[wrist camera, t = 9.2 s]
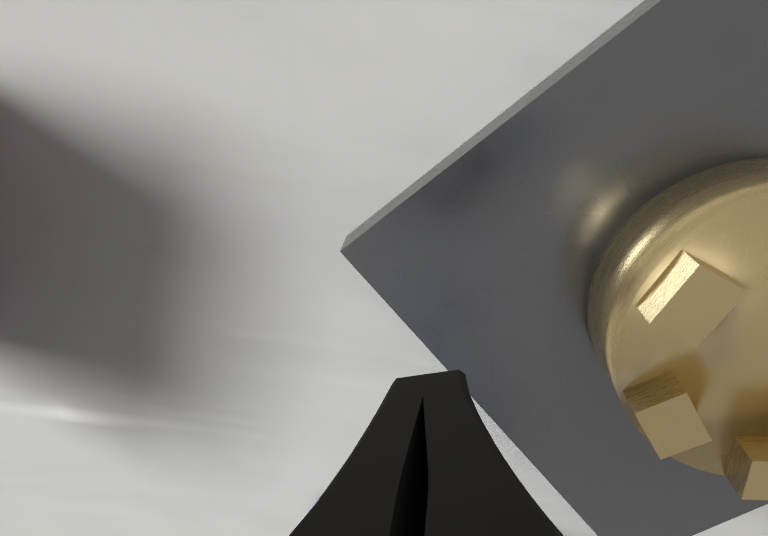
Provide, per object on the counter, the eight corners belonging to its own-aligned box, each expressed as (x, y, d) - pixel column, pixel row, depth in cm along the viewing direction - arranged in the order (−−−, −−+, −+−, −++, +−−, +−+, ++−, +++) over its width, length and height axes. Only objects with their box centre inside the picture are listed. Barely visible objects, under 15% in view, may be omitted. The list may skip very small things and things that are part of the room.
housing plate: (1093, 318, 18) (1156, 345, 16) (613, 533, 24) (625, 568, 22) (874, -182, 13) (933, -212, 12) (346, 235, 19) (338, 253, 17)
